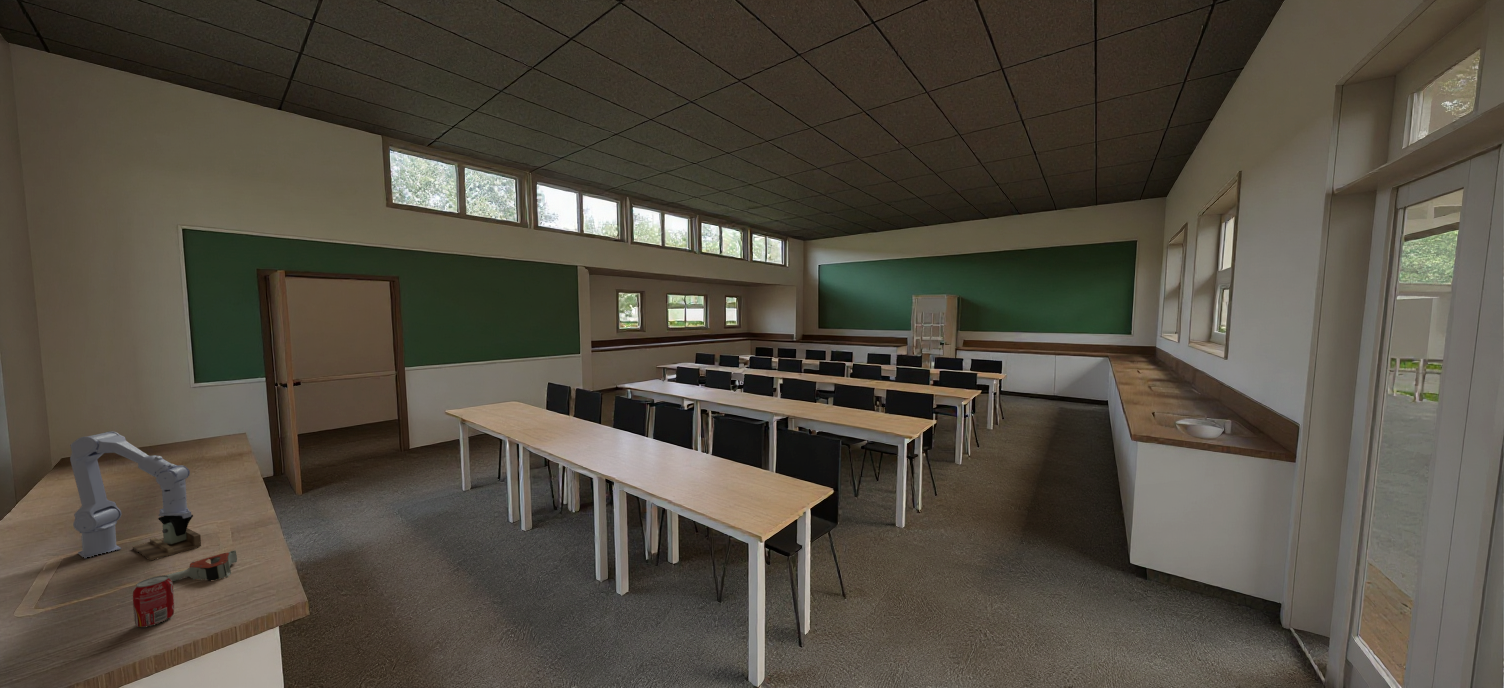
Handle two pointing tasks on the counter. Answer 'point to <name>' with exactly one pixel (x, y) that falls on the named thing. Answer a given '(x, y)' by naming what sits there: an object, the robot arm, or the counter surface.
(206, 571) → the tape dispenser
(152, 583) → the soda can
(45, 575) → the counter surface
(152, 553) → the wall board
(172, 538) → the cabinet block
